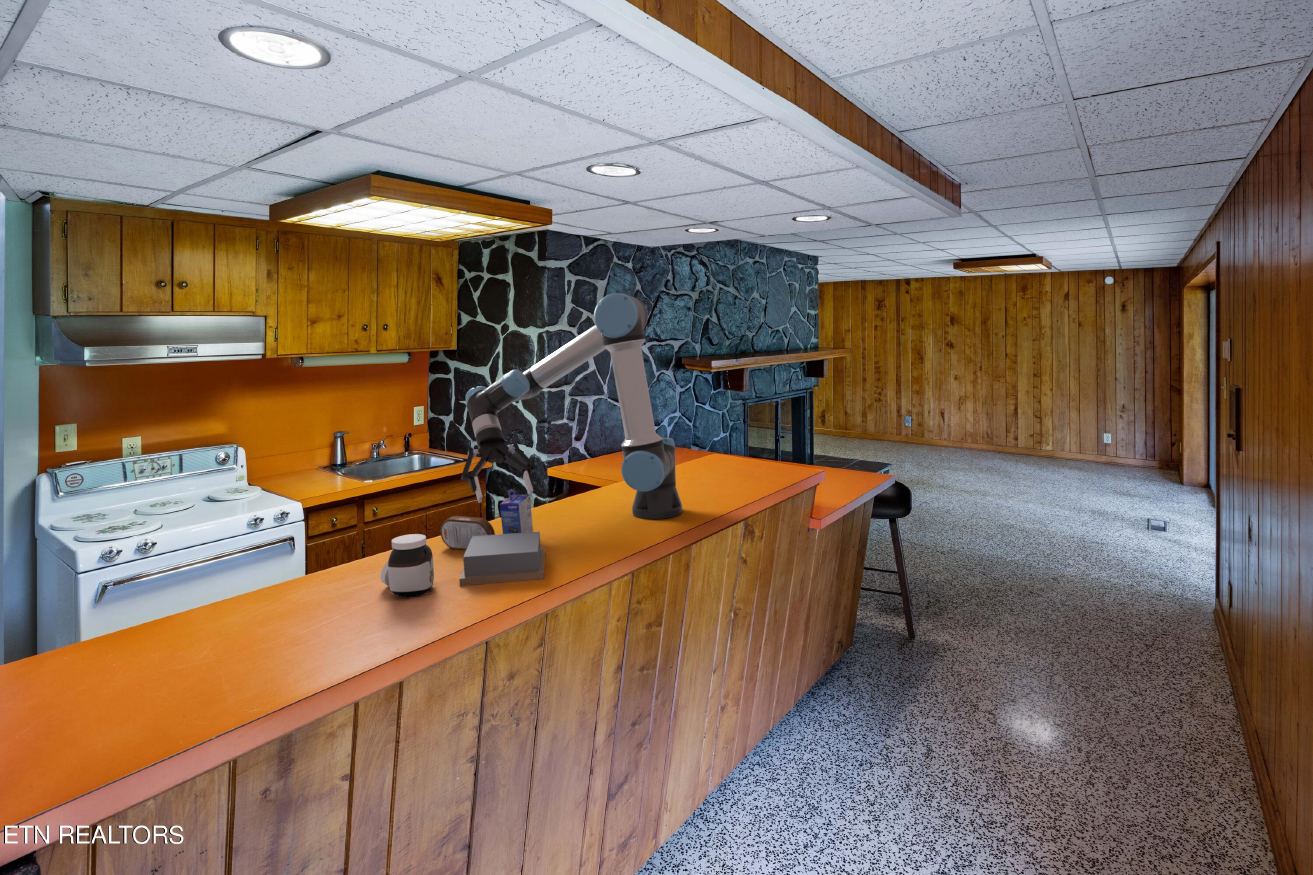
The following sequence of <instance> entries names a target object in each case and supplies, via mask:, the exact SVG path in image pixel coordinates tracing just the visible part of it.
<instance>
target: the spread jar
mask: <svg viewBox="0 0 1313 875" xmlns="http://www.w3.org/2000/svg"><path fill="white" fill-rule="evenodd" d="M391 548H392V549H391V552H390V553H389V556H388V559H387V561H386V563H385V564H384V566H383V567H382V569H381V571H380V575H379V576H380V581H381V582H382V583H383V584H384V585H386V586H387V587H389V589H390V592H391V593H392V595H394V596H396V597H399V598H406V599H407V598H417V597H420V596H423V595H426V594H428V593H429V592H430V591H431V590H432V587H433V586H434V585H433V584H434V581H435V568H434V566H435V564H434V555H433V552H432V548H431V547H430V546H429V545H428V544H427V536H426V535H425V534H420V533H413V534H410V533H409V534H404V535H400V536H397V537H394V538H392V539H391Z"/></svg>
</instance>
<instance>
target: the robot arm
mask: <svg viewBox="0 0 1313 875" xmlns="http://www.w3.org/2000/svg"><path fill="white" fill-rule="evenodd" d="M593 313H594V314H593V320H594V324H595V325H592V326H591V327H590V328H589V329H587V330H586V331H584V332H583V333H580V334H579V335H578V336H576V337H575V338H573V339H572V340H570V341H569V342H567V343H566V344H564V345H563V346H561V347H560V348H558V349H557V350H555V351H554V352H552V353H551V354H549V355H548V356H546V357H545V358H543V359H541V360H540V361H539V362H537V363H536V364H534V365H532V366H531V367H530V368H527V369H526V370H525V371H523V372H522V371H520V370H519V369H512V370H510V371H509V372H507V373H504V374H503V375H502V377H500V378H499V379H498V380H496V381H495V382H493V383H492V384H491V385H489V386H488V387H486V386H482V385H480V386H476V387H472V388H470V389H469V390H468V391H467V392H466V394H465V401H466V402H465V403H466V409H467V411H468V414H469V418H470V421H471V426H472V430H473V433H474V437H475V442H476V444H477V445H476V446H477V448H476V449H475V448H473V447H472V446H470V447H468V450H467V459H466V460H465V461H466V462H465V464H464V468H463V470H462V473H461V477H460V480H461V481H462V482H466V481H467V483H468V484H469V487H470V490H471V491H472V492H475V495H476V498H477V503H478V504H480V503H482V502H483V501H482V500H483V494H482V490H481V485H480V482H479V478H478V475H479V473H480V472H481V471H482V469H483V468H484V466H485V465H486V464H487V463H489V464H493V463H502V462H503V463H505V464H508V465H509V466H511V467H512V468H514V469H516V470H517V471H519V472H520V473H522V474H523V475H522V479H523V481H524V485H525V488H526V491H527V495H530V497H532V495H533V492H534V488H533V482H534V478H533V474H535V471H536V470H537V465H536V464H535V463H534V462H533V461H532V459H530V458H529V457H528V455H527V454H526V453H525V452H524V451H522V450H521V448H520V446H519V444H518V443H517V442H514V443H513V444H512V445H507V443H506V441H505V440H506V439H505V437H504V433H503V431H502V426H501V424H500V421H499V417H498V413H499V412H501V411H502V410H504V409H505V408H507V407H508V406H510V405H511V404H512V403H514V402H519V401H522V400H529V399H530V400H531V399H533V398H535V397H536V396H538V395H539V394H540V393H541V391H543V390H544V389H546V388H548V387H549V386H551V385H552V384H554V383H555V382H557V381H558V380H560V379H562V378H563V377H564V376H566V375H568V374H569V373H571V372H572V371H574V370H575V369H576V368H578V367H580V366H582V365H584V363H586V362H588V361H589V360H591V359H592V358H594V357H596V356H597V355H599V354H600V353H602V352H604V351H605V350H607V351H608V352H609V354H610V358H611V359H610V360H611V363H612V364H611V366H612V370H613V374H614V376H613V377H614V381H615V387H616V393H617V398H618V404H619V409H620V415H621V421H622V426H623V431H624V432H623V433H624V440H623V441H622V443H621V451H622V452H621V453H622V458H623V460H622V462H621V476H622V479H623V481H624V482H625V484H626V485H627V486H628V487H629V488H631V489H632V490H634V491H636V492H635V496H634V499H633V502H632V506H631V509H632V511H631V512H632V515H633V516H634V517H637V518H640V519H648V520H649V519H650V520H661V519H669V518H674V517H677V516H680V515H681V514H682V513H683V504H682V501H681V498H680V496H679V492H678V490H677V485H676V484H677V481H676V479H677V478H676V446H675V445H676V444H675V439H674V438H673V437H662V436H660V435H659V434H658V433H657V432H656V426H655V421H654V415H653V414H654V413H653V408H652V403H651V398H650V390H649V387H648V386H649V385H648V380H647V373H646V368H645V362H644V355H643V350H642V346H643V345H644V344H645V342H646V336H645V335H646V334H645V328H646V327H647V323H648V318H649V317H648V310H647V308H646V306H645V304H644V303H643V302H642V301H641V300H640V299H639V298H638V297H636V296H633V295H628V294H626V293H622V292H617V293H616V292H615V293H610V294H607V295H605V296H604V297H602V298H601V299H600V300H599V302H598V303H597V304H596V306H595V309H594V312H593ZM477 455H478V456H479V457H481V458H480V459H479V461H478V462H477V463H476V465H475V466H474V468H473V469H472V470H471V469H470V468H471V466H472V462H473V459H474V458H475V457H476V456H477ZM513 455H514V456H513ZM470 470H471V471H470ZM469 471H470V473H469Z"/></svg>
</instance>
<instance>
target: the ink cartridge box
mask: <svg viewBox="0 0 1313 875" xmlns="http://www.w3.org/2000/svg"><path fill="white" fill-rule="evenodd" d="M506 493H507V495H508V496H509V497H508V498H506V499H505V500H504V501H502V502H501V503H500V504H499V507H500V517H501V518H500V519H501V521H500V522H501V528H502V530H501V531H502V534H512V533H527V532H534V525H533V513H532V503H531V496H530V495H528V494H516V493H515V491H514V490H513V489H512V488H510V489H508V490H507V491H506ZM511 493H512V494H511Z"/></svg>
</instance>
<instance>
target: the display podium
mask: <svg viewBox="0 0 1313 875" xmlns="http://www.w3.org/2000/svg"><path fill="white" fill-rule="evenodd" d="M462 560H463V569H462V572H461V574H460V576H459V586H469V585H480V584H481V585H482V584H495V583H509V582H519V581H531V580H532V581H534V580H535V581H536V580H544V579H545V565H546V547H541V531H533V532H527V533H512V534H503V533H502V534H501V533H500V534H499V533H498V534H495V535H484V536H472V538H471V541H470V543H469V545H468V547H467V550H465V552H464V555H463V557H462Z"/></svg>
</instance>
